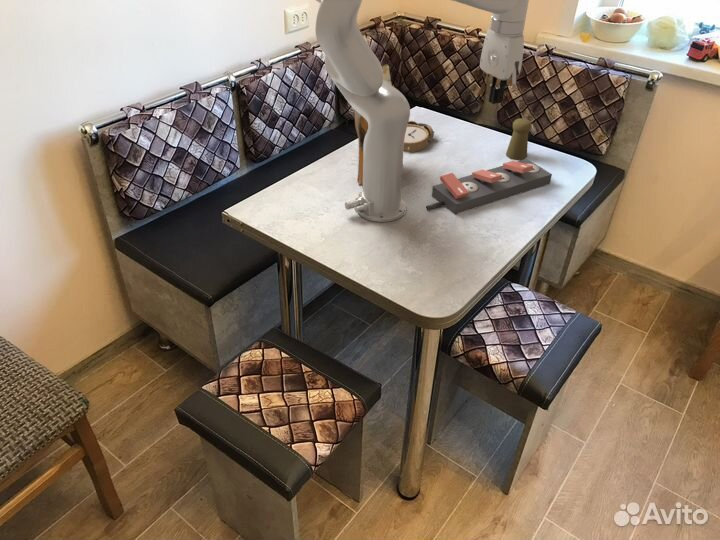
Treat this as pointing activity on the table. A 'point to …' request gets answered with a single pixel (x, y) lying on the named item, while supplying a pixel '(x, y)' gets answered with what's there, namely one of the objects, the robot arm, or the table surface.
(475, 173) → the outlet rocker
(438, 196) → the power strip
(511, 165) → the rocker outlet
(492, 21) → the robot arm
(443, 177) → the outlet rocker
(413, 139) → the alarm clock
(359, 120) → the pancake mix bag
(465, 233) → the table surface
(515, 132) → the cork
